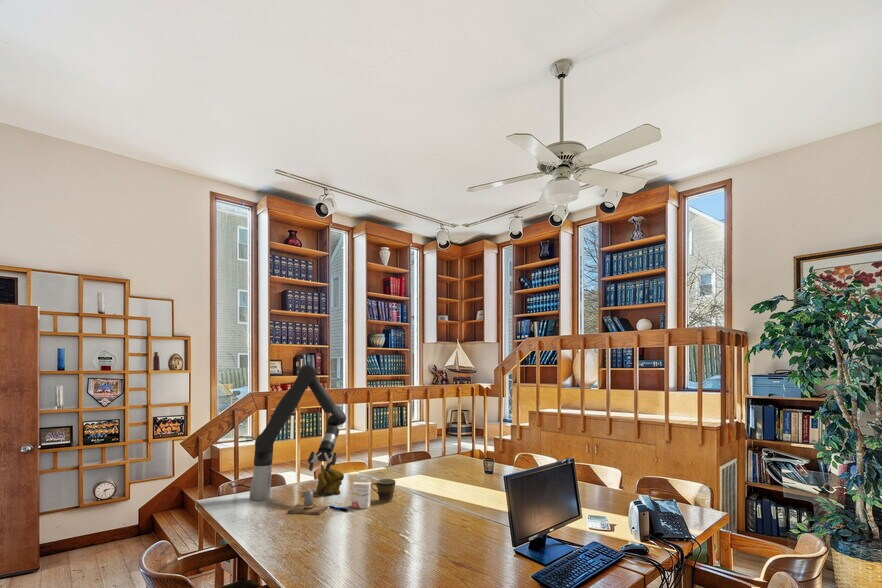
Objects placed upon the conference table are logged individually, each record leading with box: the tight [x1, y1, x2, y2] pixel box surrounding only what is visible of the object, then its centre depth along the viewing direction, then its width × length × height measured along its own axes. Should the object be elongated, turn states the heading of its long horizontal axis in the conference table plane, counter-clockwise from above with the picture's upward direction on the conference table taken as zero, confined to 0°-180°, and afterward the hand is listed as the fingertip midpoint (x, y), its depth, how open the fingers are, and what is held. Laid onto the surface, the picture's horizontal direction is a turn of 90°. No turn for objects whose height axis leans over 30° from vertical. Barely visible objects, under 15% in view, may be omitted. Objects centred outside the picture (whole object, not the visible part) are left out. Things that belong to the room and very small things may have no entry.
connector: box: [303, 488, 314, 509], centre depth 232 cm, size 4×4×9 cm
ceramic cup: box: [371, 478, 397, 504], centre depth 250 cm, size 13×10×10 cm
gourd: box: [315, 464, 345, 495], centre depth 264 cm, size 14×14×14 cm
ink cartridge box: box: [351, 474, 372, 509], centre depth 240 cm, size 9×5×15 cm, turn 84°
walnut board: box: [287, 503, 329, 516], centre depth 231 cm, size 16×10×1 cm, turn 82°
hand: (318, 470), depth 244 cm, fingers open, 8 cm apart
